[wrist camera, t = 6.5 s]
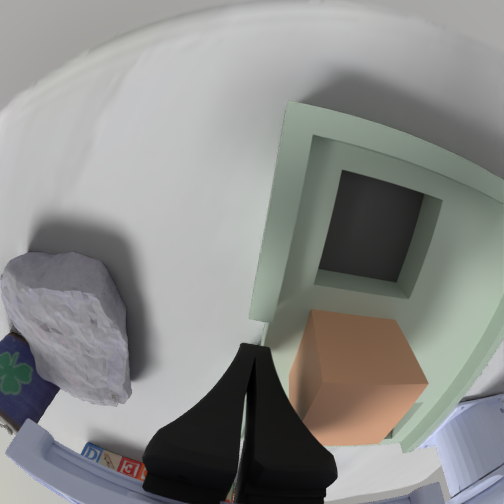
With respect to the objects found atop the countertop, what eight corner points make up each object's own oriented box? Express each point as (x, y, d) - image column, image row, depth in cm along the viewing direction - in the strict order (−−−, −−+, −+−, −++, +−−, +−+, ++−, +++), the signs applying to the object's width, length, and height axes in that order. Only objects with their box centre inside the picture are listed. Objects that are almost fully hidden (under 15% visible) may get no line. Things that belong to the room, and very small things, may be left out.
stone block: (128, 241, 16) (17, 245, 15) (102, 279, 12) (-19, 275, 11) (156, 372, 21) (60, 362, 20) (149, 417, 17) (43, 398, 16)
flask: (13, 344, 20) (-39, 402, 10) (6, 324, 19) (-52, 383, 9) (73, 381, 20) (22, 459, 10) (67, 361, 19) (7, 444, 9)
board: (520, 200, 11) (552, 213, 8) (403, 425, 19) (411, 451, 16) (285, 112, 11) (288, 100, 8) (228, 417, 19) (222, 450, 16)
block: (395, 319, 12) (428, 383, 8) (363, 381, 14) (378, 443, 10) (311, 308, 12) (322, 382, 8) (288, 375, 14) (289, 444, 10)
